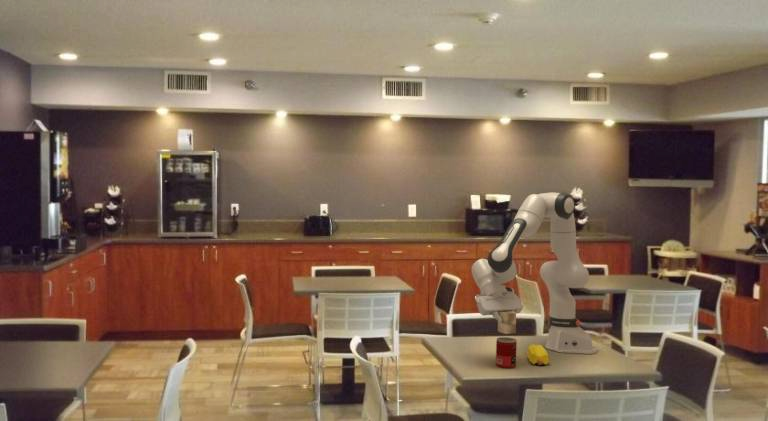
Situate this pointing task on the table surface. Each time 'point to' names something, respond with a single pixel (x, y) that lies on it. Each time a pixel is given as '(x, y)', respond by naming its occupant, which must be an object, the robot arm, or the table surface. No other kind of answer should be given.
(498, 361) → the canned food
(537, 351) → the yellow lumpy piece
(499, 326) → the beige cylinder
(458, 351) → the table surface
